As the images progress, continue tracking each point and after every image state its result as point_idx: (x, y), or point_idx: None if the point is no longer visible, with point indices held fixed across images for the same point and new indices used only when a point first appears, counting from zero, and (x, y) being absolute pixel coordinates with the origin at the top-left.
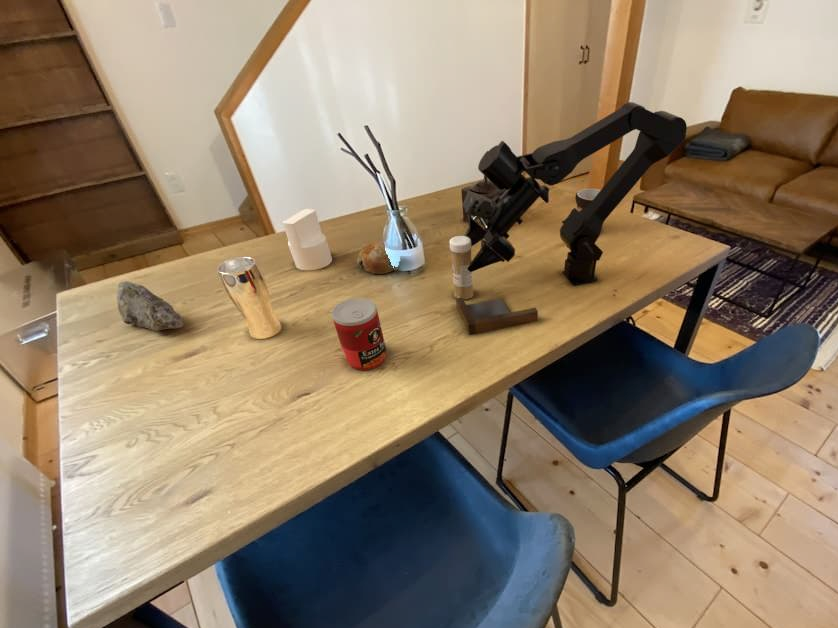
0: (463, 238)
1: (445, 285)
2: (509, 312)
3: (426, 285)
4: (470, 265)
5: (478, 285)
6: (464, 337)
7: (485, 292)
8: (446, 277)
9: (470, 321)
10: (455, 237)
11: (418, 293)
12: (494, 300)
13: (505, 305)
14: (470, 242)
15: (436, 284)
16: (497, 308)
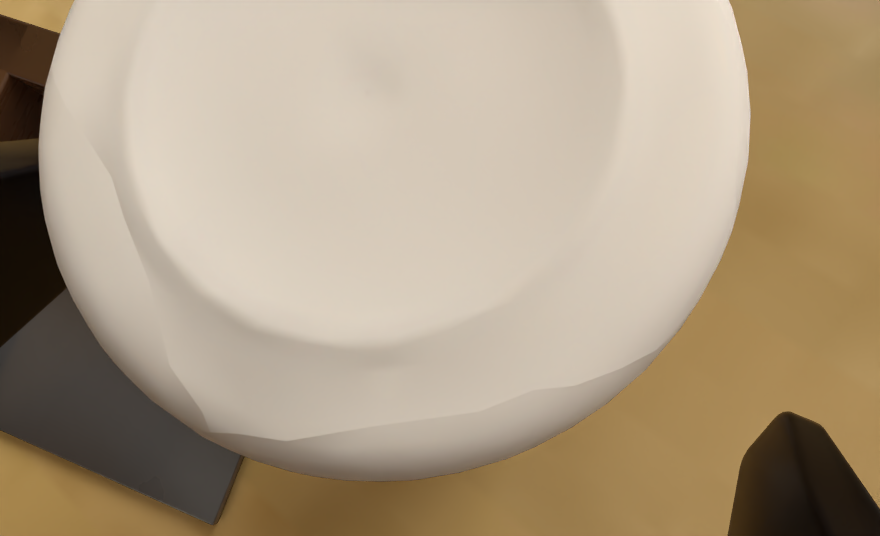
0: (377, 242)
1: (729, 276)
2: (24, 433)
3: (835, 143)
4: (30, 139)
5: (536, 518)
6: (57, 20)
7: (396, 489)
8: (862, 366)
9: (6, 41)
10: (627, 49)
11: (750, 29)
12: (225, 453)
13: (111, 475)
14: (89, 321)
15: (796, 222)
16: (127, 395)
